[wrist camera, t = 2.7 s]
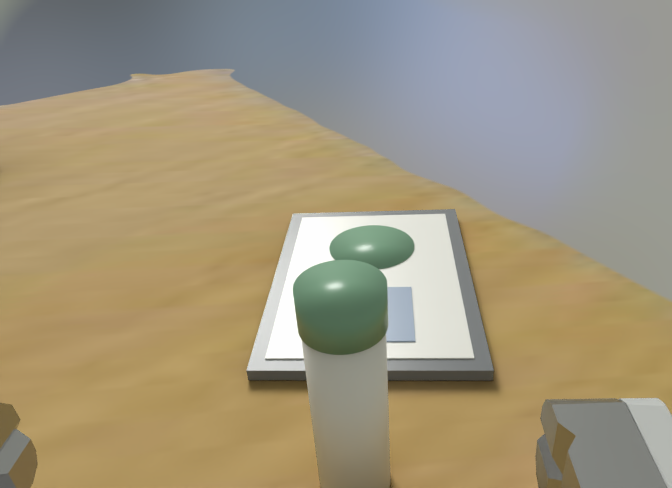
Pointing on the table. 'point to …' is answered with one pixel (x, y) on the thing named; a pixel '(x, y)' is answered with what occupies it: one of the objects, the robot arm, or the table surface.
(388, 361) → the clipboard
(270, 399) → the table surface
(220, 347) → the table surface
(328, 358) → the marker
